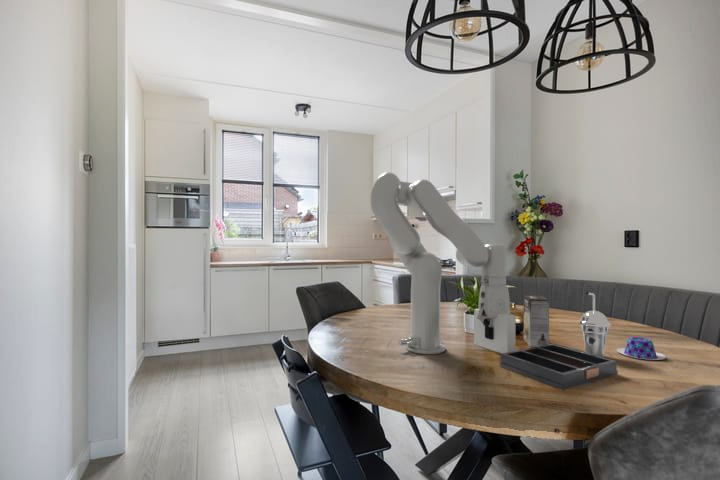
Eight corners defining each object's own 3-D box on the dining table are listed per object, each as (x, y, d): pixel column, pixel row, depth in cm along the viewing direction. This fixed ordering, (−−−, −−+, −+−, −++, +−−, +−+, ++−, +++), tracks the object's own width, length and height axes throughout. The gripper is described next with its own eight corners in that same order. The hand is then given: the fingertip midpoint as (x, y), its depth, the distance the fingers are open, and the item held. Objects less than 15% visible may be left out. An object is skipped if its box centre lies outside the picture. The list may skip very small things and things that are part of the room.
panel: (507, 355, 111) (507, 316, 111) (474, 344, 124) (474, 309, 124) (515, 354, 113) (515, 315, 113) (481, 343, 125) (481, 308, 125)
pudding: (613, 355, 112) (613, 339, 112) (620, 347, 121) (620, 332, 121) (663, 365, 104) (663, 346, 104) (667, 355, 112) (667, 338, 112)
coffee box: (522, 339, 130) (522, 294, 130) (542, 340, 128) (542, 295, 128) (529, 346, 121) (529, 298, 121) (550, 348, 119) (550, 299, 119)
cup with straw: (618, 359, 108) (618, 292, 108) (593, 361, 106) (592, 293, 106) (594, 350, 116) (594, 288, 116) (570, 352, 114) (570, 289, 114)
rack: (563, 390, 85) (563, 375, 85) (499, 366, 101) (499, 353, 102) (619, 374, 95) (618, 361, 95) (552, 354, 112) (552, 343, 112)
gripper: (483, 284, 111) (484, 344, 111) (520, 281, 119) (521, 337, 118) (466, 281, 118) (466, 338, 118) (502, 279, 125) (502, 332, 125)
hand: (493, 337), depth 118 cm, fingers closed on panel, 3 cm apart
